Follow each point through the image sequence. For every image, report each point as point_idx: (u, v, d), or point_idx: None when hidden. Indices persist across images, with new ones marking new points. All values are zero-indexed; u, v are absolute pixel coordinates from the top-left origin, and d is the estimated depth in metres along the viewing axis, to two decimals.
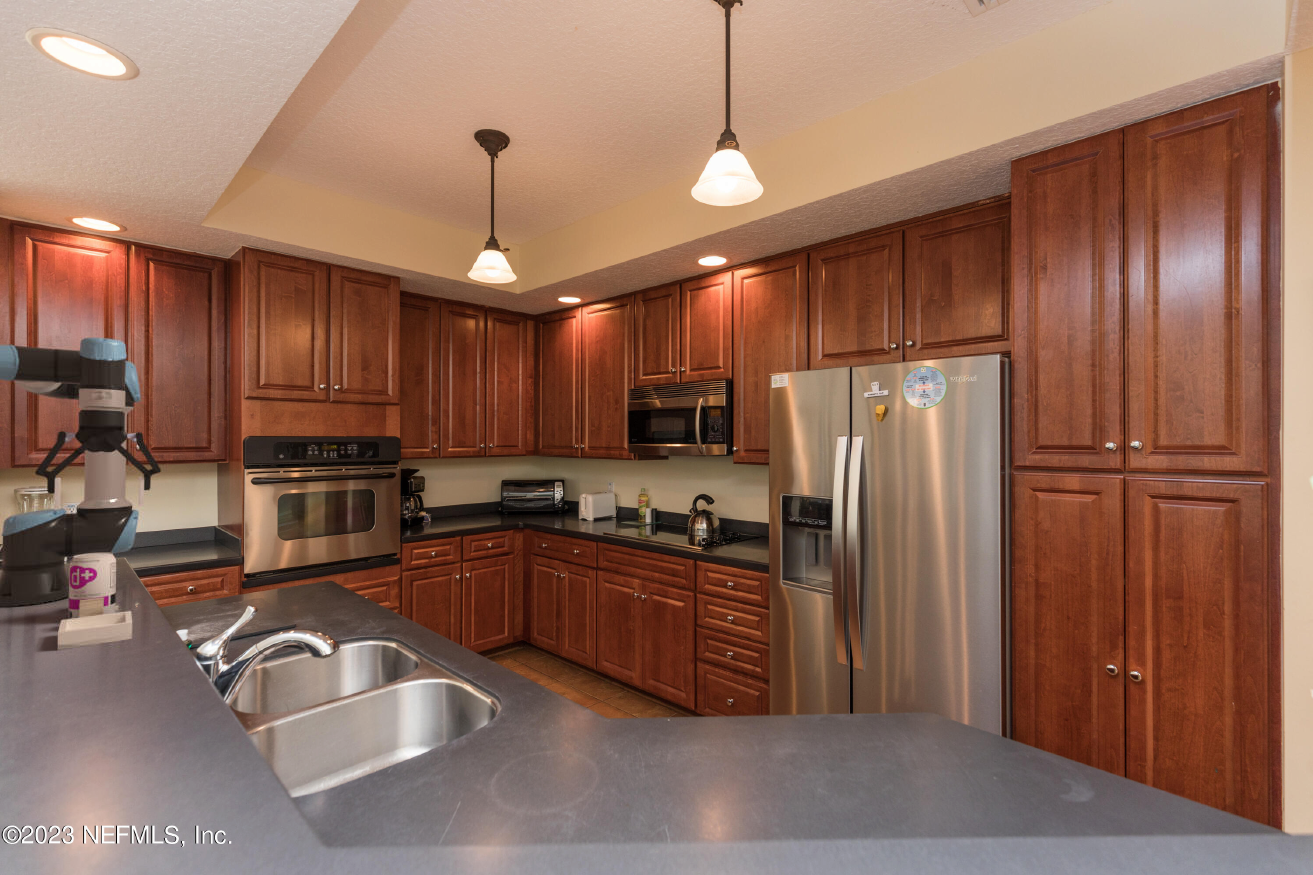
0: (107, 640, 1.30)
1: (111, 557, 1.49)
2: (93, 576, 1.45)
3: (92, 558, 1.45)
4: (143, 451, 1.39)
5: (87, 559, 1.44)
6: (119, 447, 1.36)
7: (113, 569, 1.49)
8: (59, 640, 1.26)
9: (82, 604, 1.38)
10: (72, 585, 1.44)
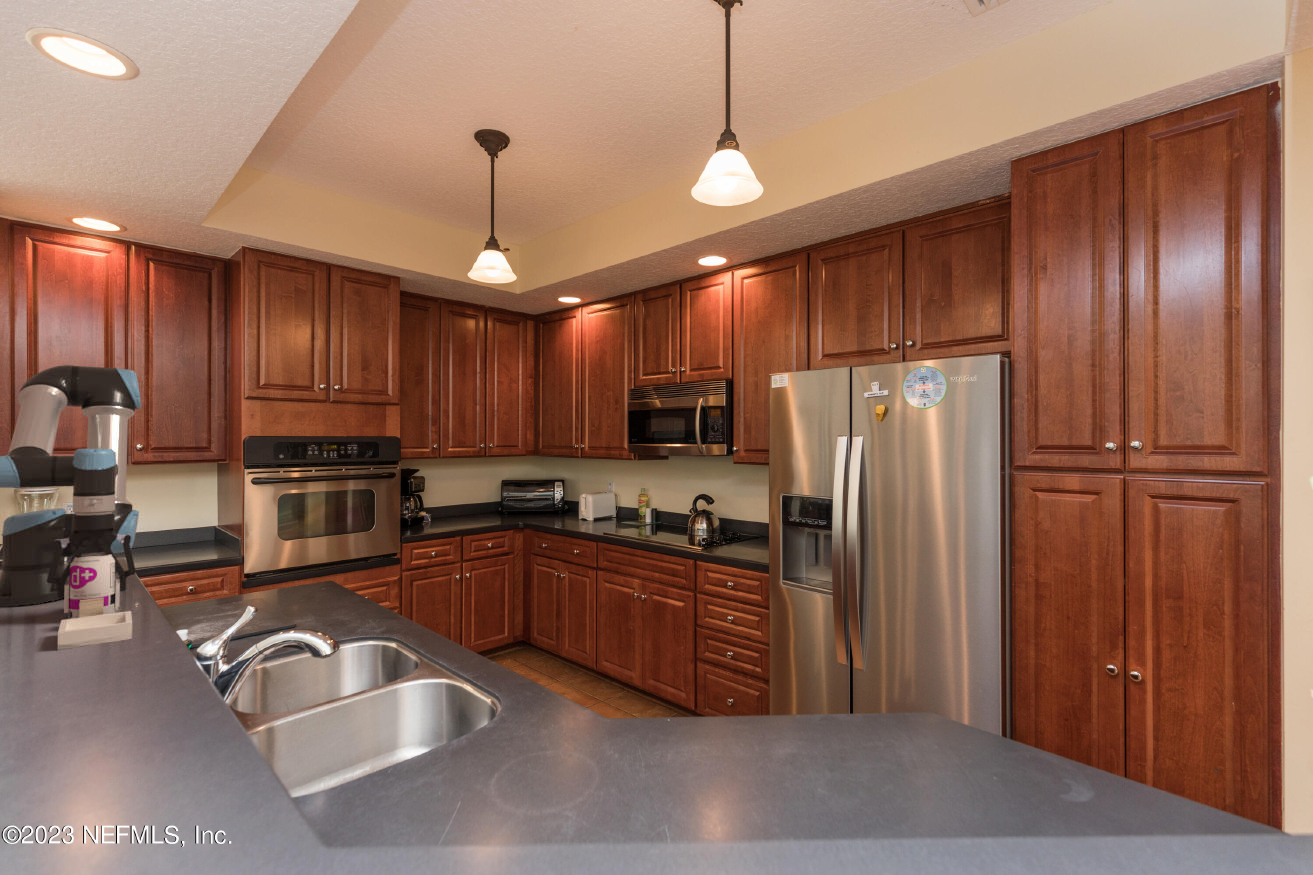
0: (107, 640, 1.30)
1: (111, 557, 1.49)
2: (93, 576, 1.45)
3: (92, 558, 1.45)
4: (126, 553, 1.51)
5: (87, 559, 1.44)
6: (106, 549, 1.48)
7: (113, 569, 1.48)
8: (59, 640, 1.26)
9: (82, 604, 1.38)
10: (72, 585, 1.44)
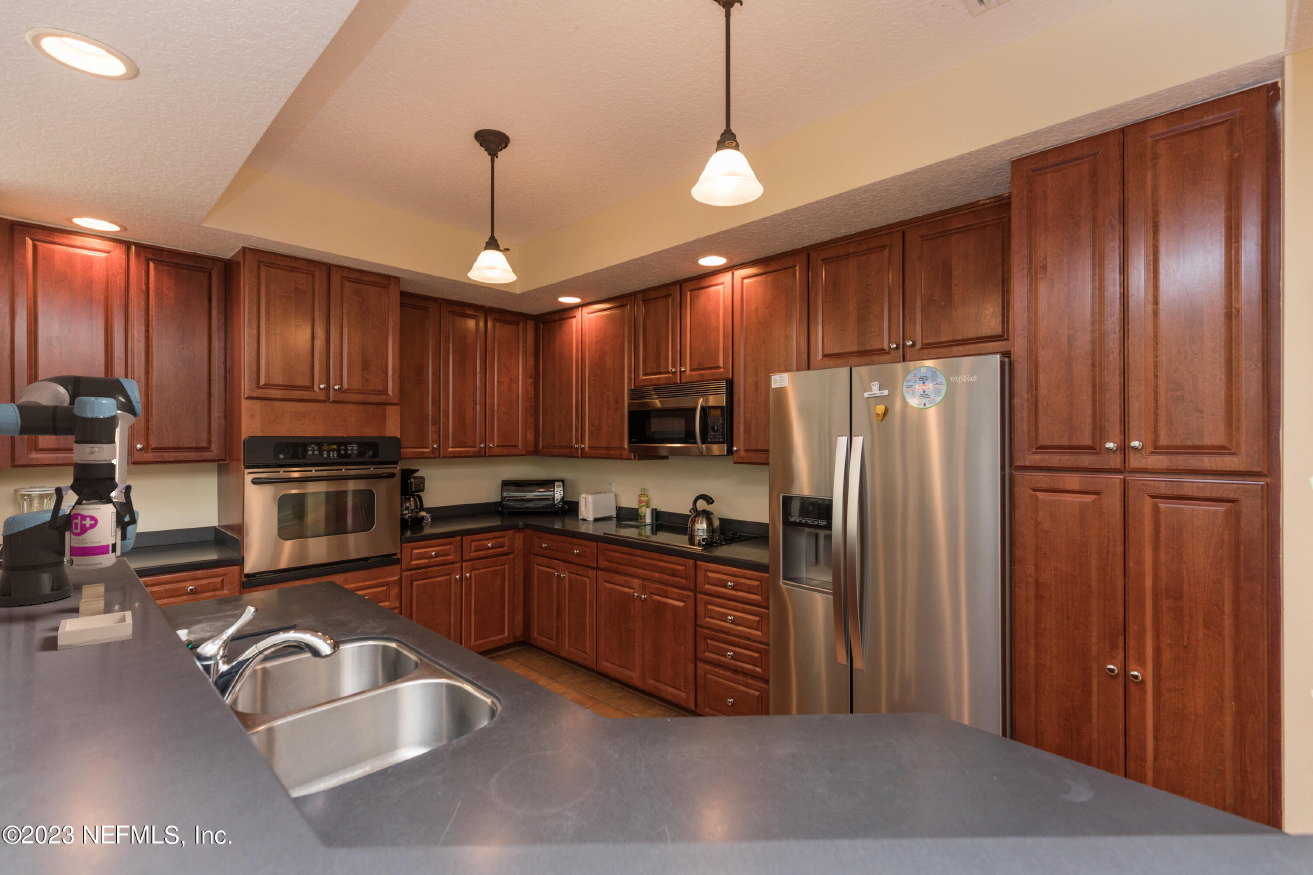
0: (107, 640, 1.30)
1: (112, 506, 1.49)
2: (94, 524, 1.45)
3: (93, 506, 1.45)
4: (127, 502, 1.51)
5: (88, 507, 1.45)
6: (107, 497, 1.48)
7: (114, 518, 1.49)
8: (59, 640, 1.26)
9: (82, 604, 1.38)
10: (73, 532, 1.44)
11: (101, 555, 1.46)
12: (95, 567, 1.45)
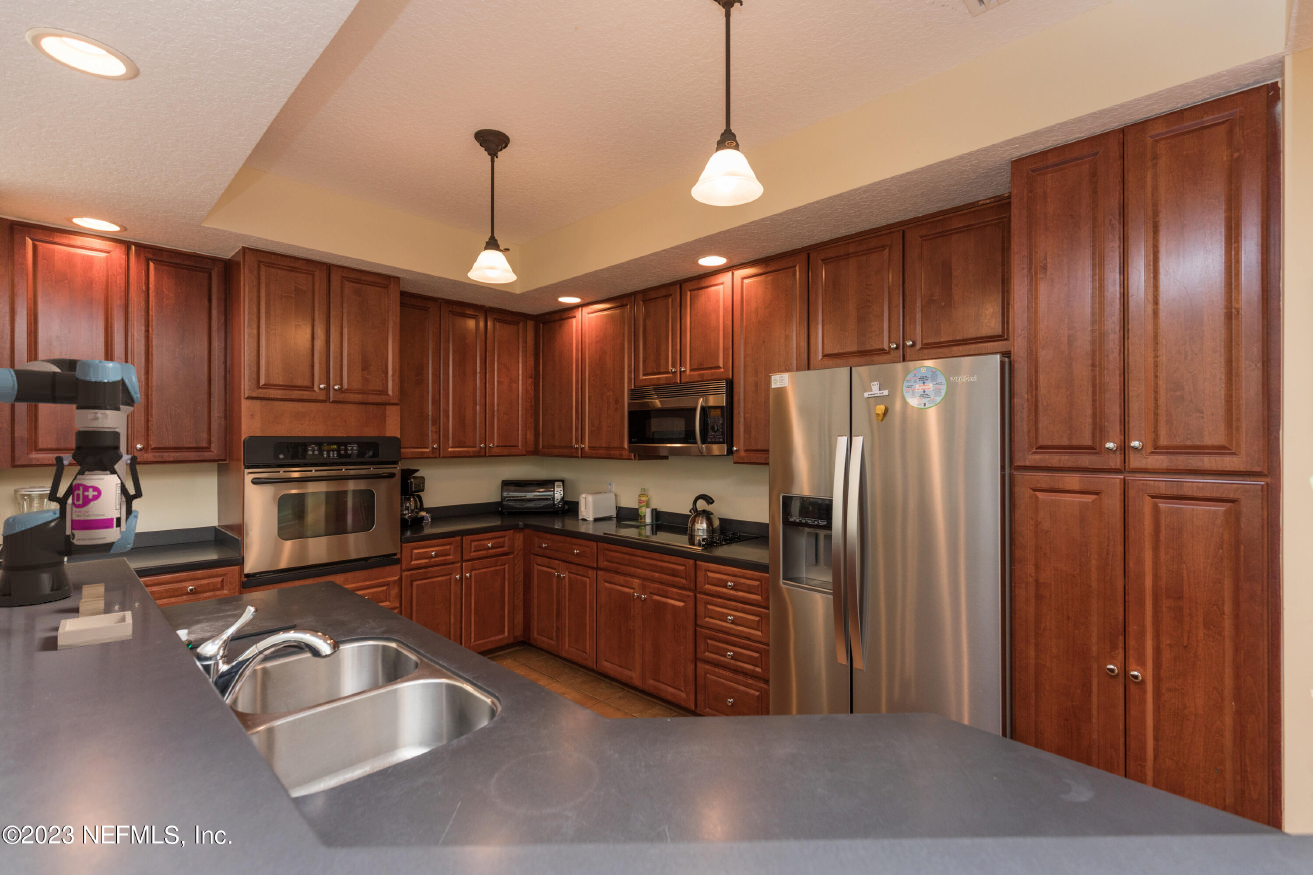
0: (107, 640, 1.30)
1: (116, 477, 1.39)
2: (97, 496, 1.35)
3: (96, 476, 1.35)
4: (132, 474, 1.41)
5: (91, 477, 1.35)
6: (111, 468, 1.38)
7: (118, 490, 1.39)
8: (59, 640, 1.26)
9: (82, 604, 1.38)
10: (74, 504, 1.34)
11: (105, 530, 1.36)
12: (98, 542, 1.35)
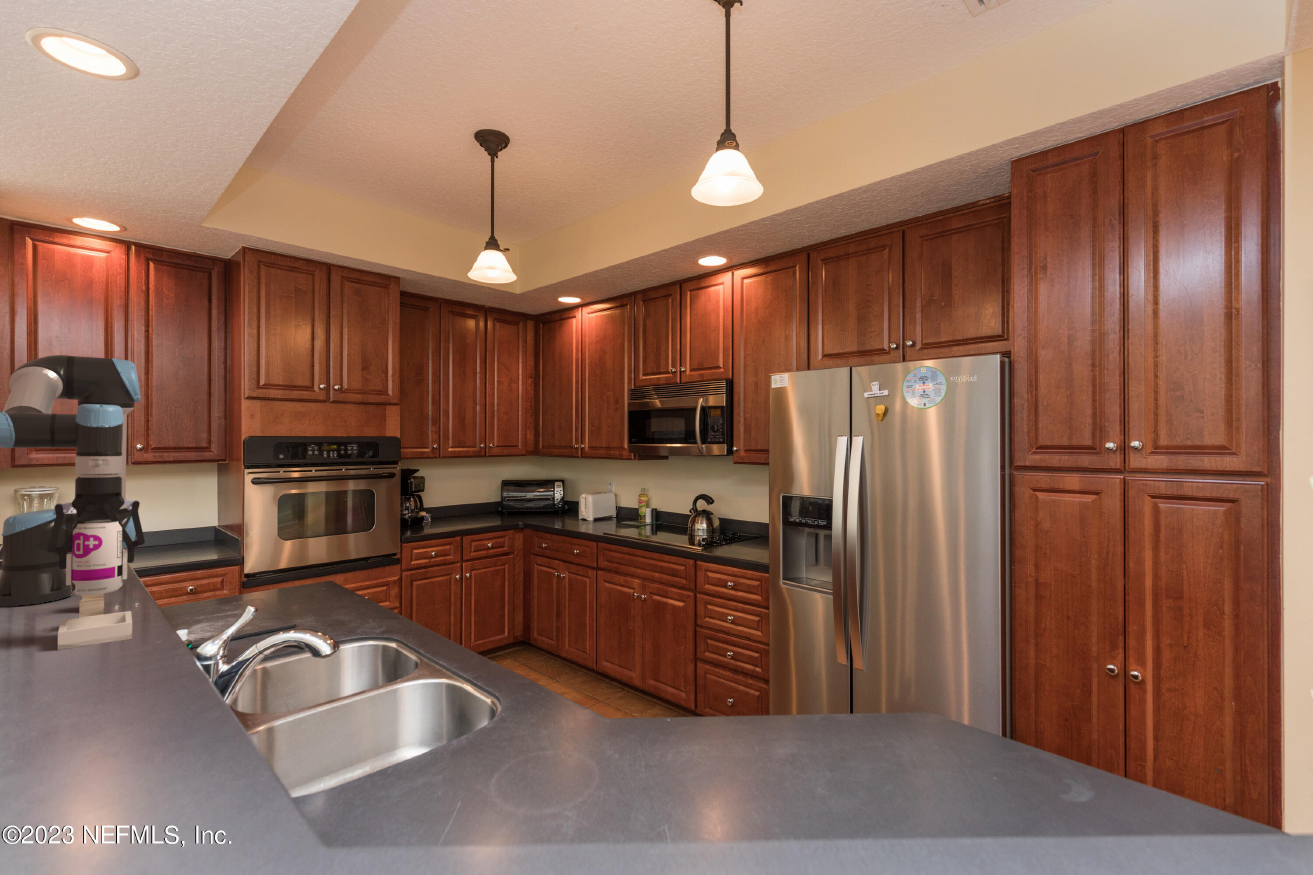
0: (107, 640, 1.30)
1: (118, 524, 1.35)
2: (98, 545, 1.31)
3: (97, 524, 1.31)
4: (134, 520, 1.37)
5: (91, 525, 1.30)
6: (113, 515, 1.34)
7: (120, 538, 1.34)
8: (59, 640, 1.26)
9: (82, 604, 1.38)
10: (75, 554, 1.30)
11: (106, 579, 1.32)
12: (99, 592, 1.31)
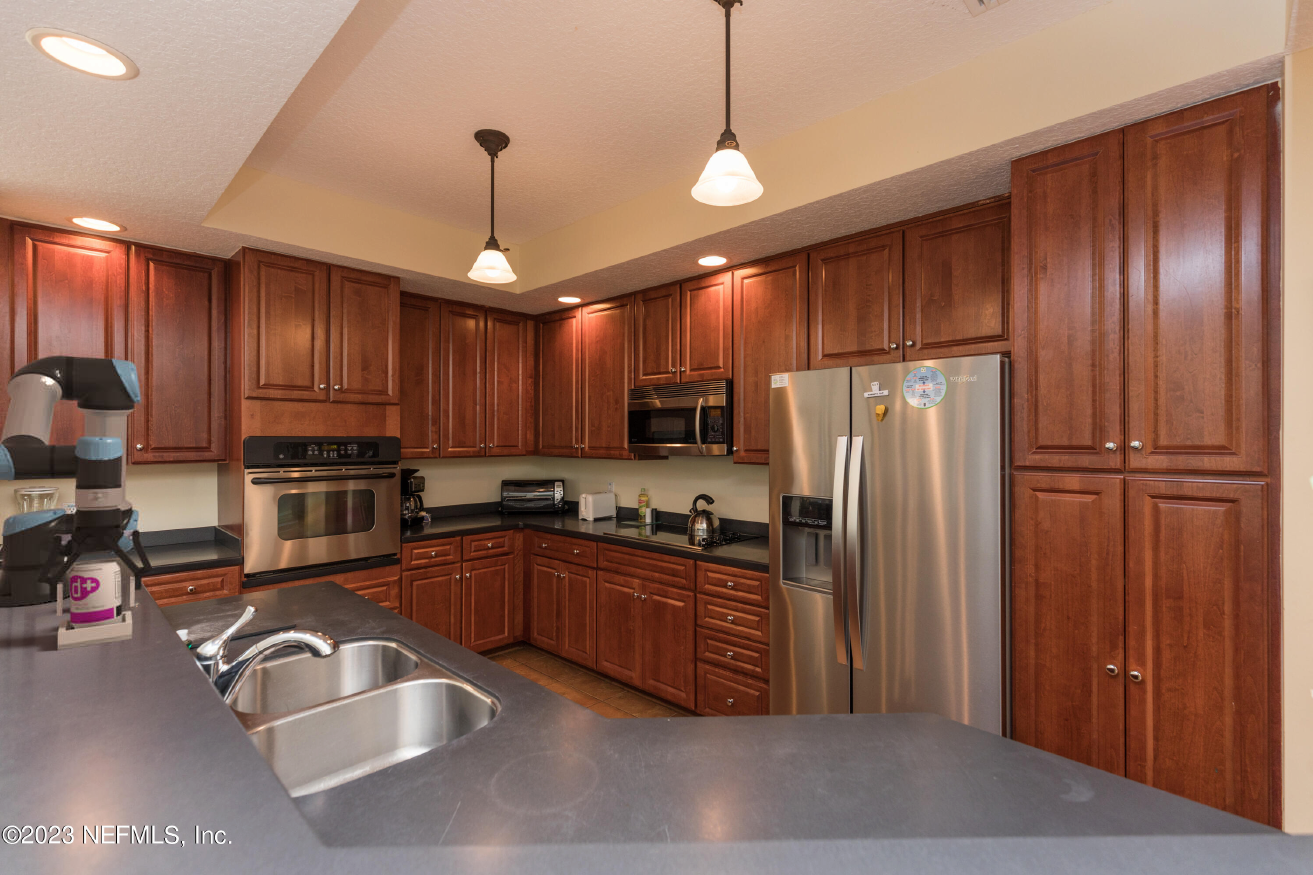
0: (107, 640, 1.30)
1: (115, 565, 1.34)
2: (96, 587, 1.31)
3: (94, 566, 1.31)
4: (137, 549, 1.37)
5: (88, 568, 1.30)
6: (114, 546, 1.34)
7: (117, 578, 1.34)
8: (59, 640, 1.26)
9: None
10: (73, 596, 1.30)
11: (105, 621, 1.32)
12: None
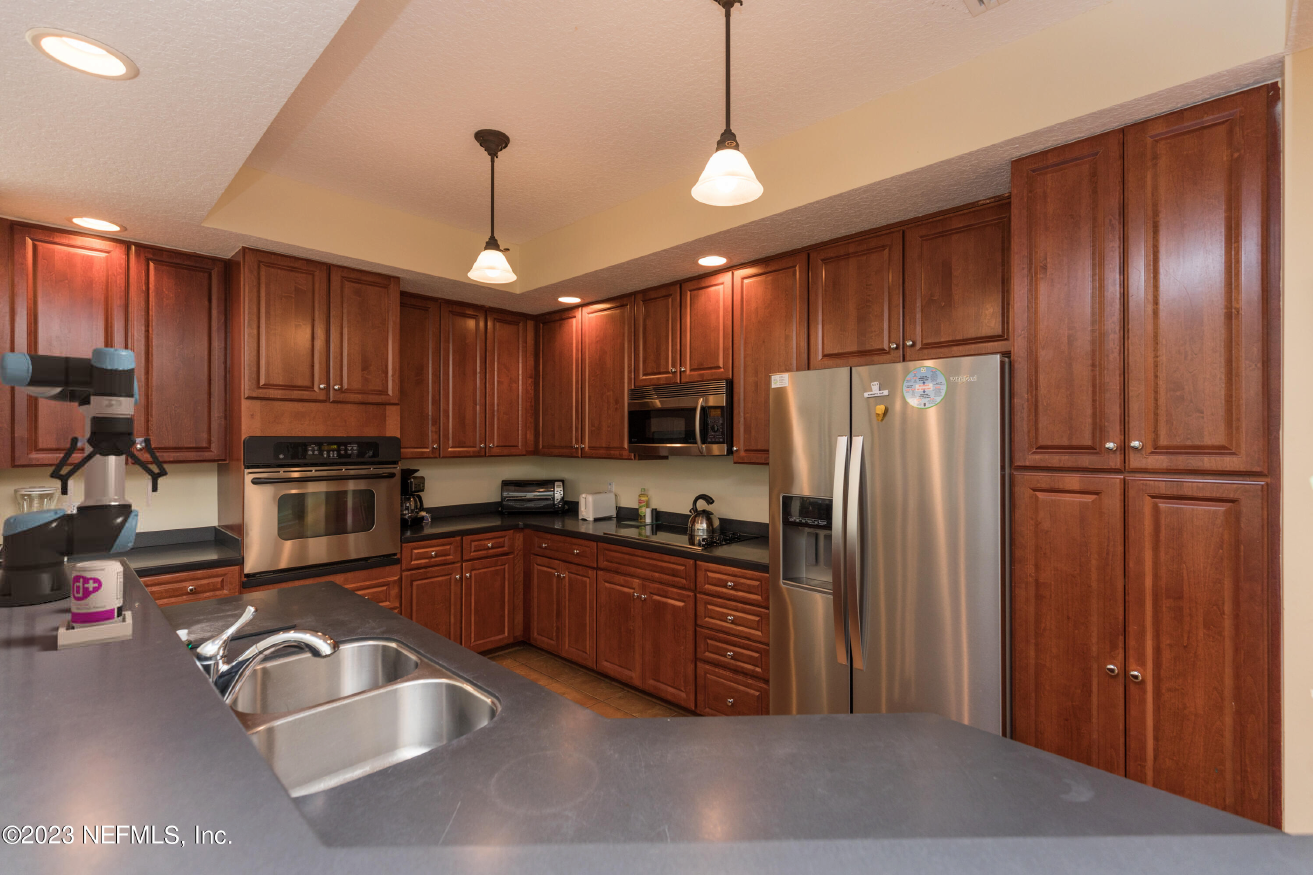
0: (107, 640, 1.30)
1: (117, 565, 1.35)
2: (98, 587, 1.31)
3: (97, 567, 1.31)
4: (151, 455, 1.46)
5: (91, 568, 1.31)
6: (128, 451, 1.43)
7: (119, 579, 1.35)
8: (59, 640, 1.26)
9: None
10: (74, 596, 1.30)
11: (106, 621, 1.32)
12: None
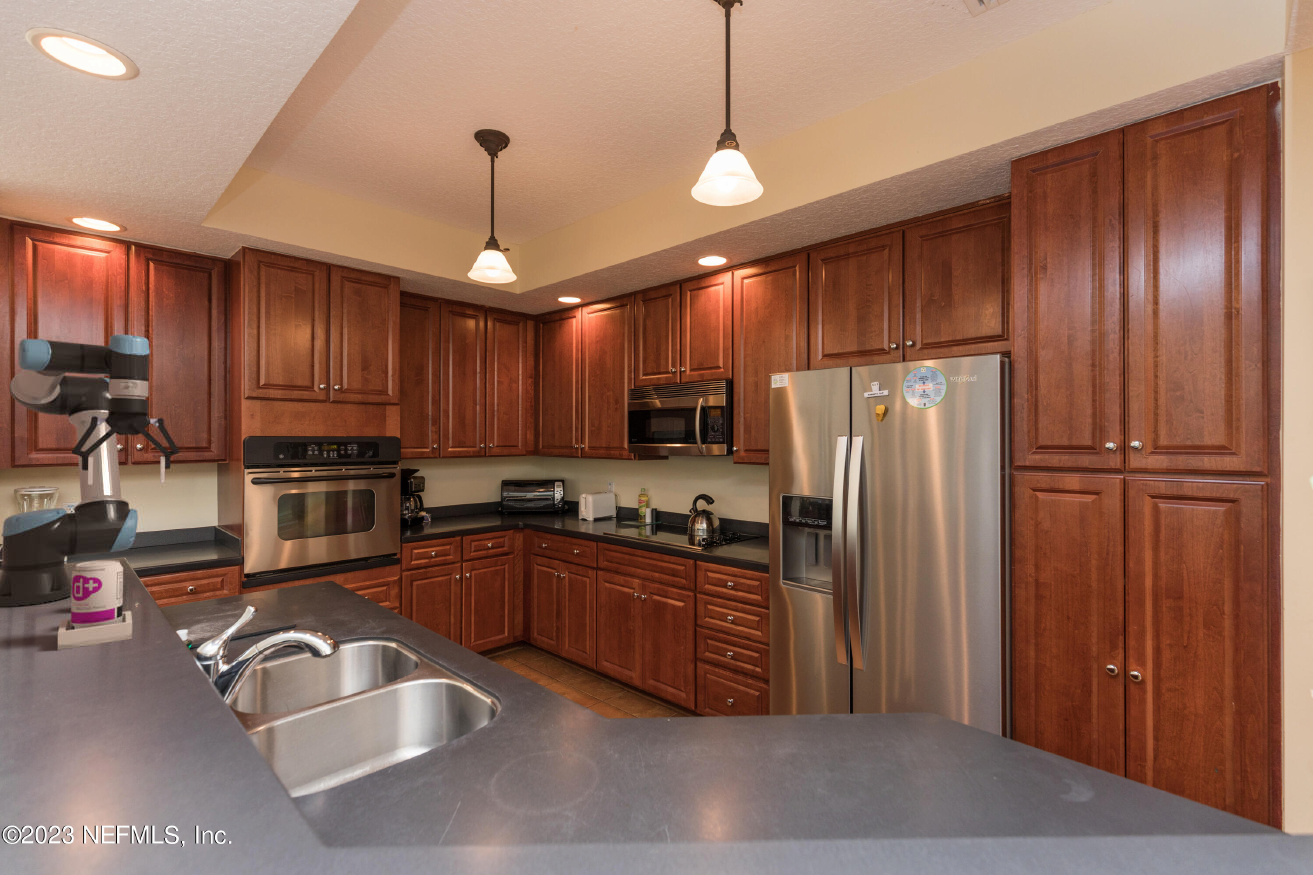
0: (107, 640, 1.30)
1: (117, 565, 1.35)
2: (98, 587, 1.31)
3: (97, 567, 1.31)
4: (164, 434, 1.58)
5: (91, 568, 1.31)
6: (143, 431, 1.55)
7: (119, 579, 1.35)
8: (59, 640, 1.26)
9: None
10: (74, 596, 1.30)
11: (106, 621, 1.32)
12: None
